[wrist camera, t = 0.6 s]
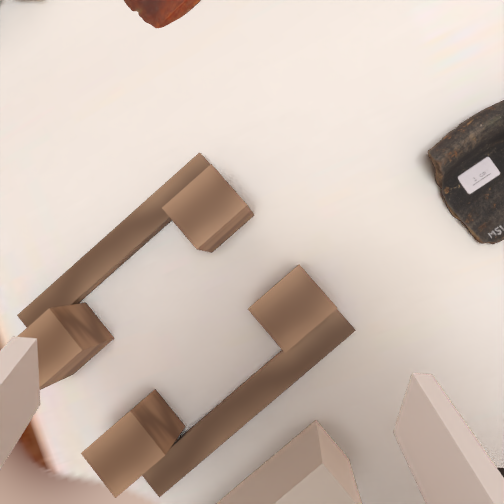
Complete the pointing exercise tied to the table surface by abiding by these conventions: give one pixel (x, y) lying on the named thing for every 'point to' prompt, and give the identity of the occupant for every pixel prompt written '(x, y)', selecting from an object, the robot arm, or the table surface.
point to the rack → (153, 406)
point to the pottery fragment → (474, 173)
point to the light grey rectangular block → (301, 474)
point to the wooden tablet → (161, 10)
